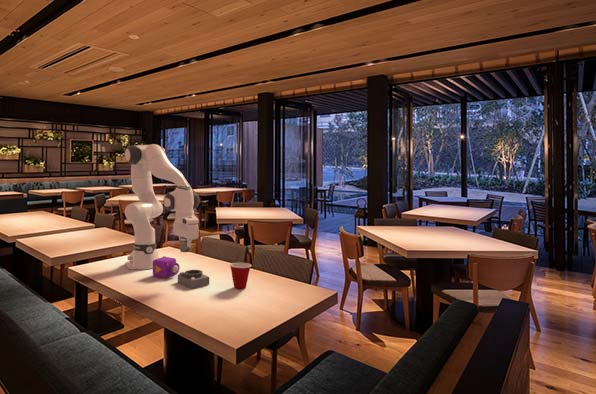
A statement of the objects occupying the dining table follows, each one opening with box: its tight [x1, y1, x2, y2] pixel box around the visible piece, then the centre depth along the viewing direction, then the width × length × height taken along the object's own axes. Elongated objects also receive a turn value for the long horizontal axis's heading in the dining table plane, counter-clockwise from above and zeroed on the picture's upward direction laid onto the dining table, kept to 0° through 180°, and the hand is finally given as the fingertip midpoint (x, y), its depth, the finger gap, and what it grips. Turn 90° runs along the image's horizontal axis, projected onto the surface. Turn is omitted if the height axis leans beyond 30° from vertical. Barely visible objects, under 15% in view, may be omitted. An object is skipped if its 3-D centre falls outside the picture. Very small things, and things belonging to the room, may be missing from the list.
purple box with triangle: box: [152, 255, 181, 279], centre depth 202 cm, size 11×14×10 cm
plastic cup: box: [229, 262, 252, 290], centre depth 184 cm, size 11×11×12 cm
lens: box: [179, 237, 192, 253], centre depth 187 cm, size 5×5×7 cm
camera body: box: [177, 269, 210, 290], centre depth 190 cm, size 14×10×6 cm
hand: (185, 245), depth 187 cm, fingers closed on lens, 5 cm apart
